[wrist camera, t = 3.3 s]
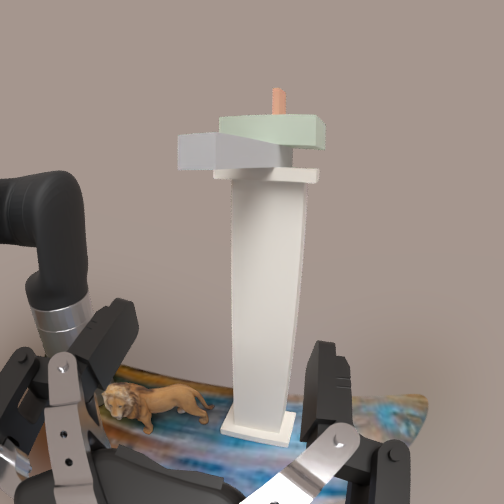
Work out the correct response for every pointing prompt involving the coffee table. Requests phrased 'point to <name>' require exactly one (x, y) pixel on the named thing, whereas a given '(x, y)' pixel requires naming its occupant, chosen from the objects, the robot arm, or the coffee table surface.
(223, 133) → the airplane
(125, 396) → the lion figurine
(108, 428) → the coffee table surface
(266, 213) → the stand
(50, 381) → the robot arm
